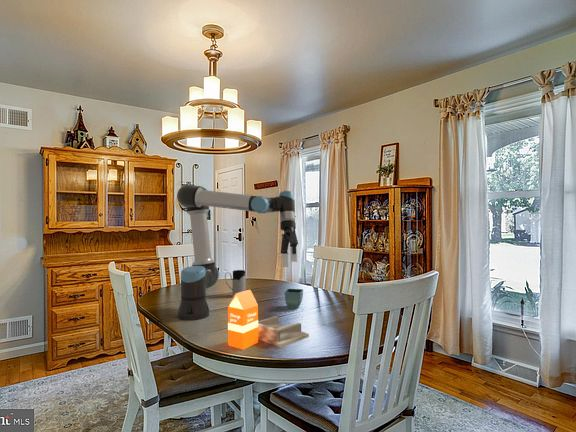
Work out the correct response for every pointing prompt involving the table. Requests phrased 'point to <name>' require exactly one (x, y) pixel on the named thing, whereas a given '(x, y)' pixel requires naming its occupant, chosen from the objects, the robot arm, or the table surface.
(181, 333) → the table surface
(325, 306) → the table surface
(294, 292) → the flower pot
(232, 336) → the orange juice
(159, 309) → the table surface
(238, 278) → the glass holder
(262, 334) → the keeper bracket
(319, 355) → the table surface
